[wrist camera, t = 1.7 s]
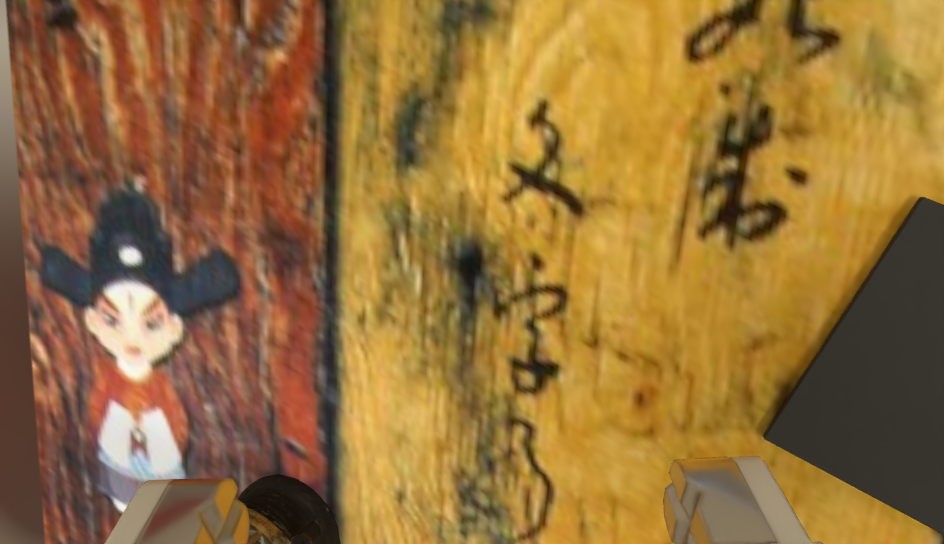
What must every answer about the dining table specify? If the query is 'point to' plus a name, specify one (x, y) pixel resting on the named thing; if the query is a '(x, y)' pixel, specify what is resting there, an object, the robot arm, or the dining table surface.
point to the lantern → (287, 513)
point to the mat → (882, 380)
